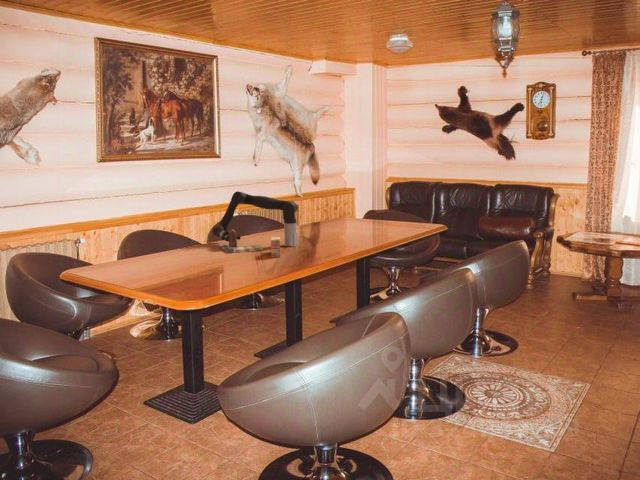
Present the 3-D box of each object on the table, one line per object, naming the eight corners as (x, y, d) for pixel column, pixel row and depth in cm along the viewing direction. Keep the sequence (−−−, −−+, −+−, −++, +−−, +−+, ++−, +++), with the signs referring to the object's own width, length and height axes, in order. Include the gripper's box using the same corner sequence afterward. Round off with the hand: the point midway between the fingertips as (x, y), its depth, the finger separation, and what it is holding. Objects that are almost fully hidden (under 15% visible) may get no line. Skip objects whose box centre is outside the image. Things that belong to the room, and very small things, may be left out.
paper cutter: (254, 246, 457) (254, 242, 456) (262, 250, 442) (262, 246, 441) (222, 249, 445) (222, 245, 445) (229, 253, 430) (229, 248, 430)
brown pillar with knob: (234, 248, 448) (234, 229, 446) (237, 249, 445) (236, 230, 442) (229, 249, 446) (228, 229, 444) (231, 250, 442) (230, 230, 440)
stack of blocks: (271, 251, 436) (270, 234, 434) (279, 251, 436) (279, 234, 434) (271, 257, 415) (270, 239, 413) (280, 257, 415) (280, 239, 413)
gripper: (216, 231, 453) (224, 234, 438) (235, 230, 459) (242, 233, 445) (217, 241, 454) (224, 244, 440) (235, 239, 460) (242, 243, 446)
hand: (233, 238), depth 442 cm, fingers open, 8 cm apart
